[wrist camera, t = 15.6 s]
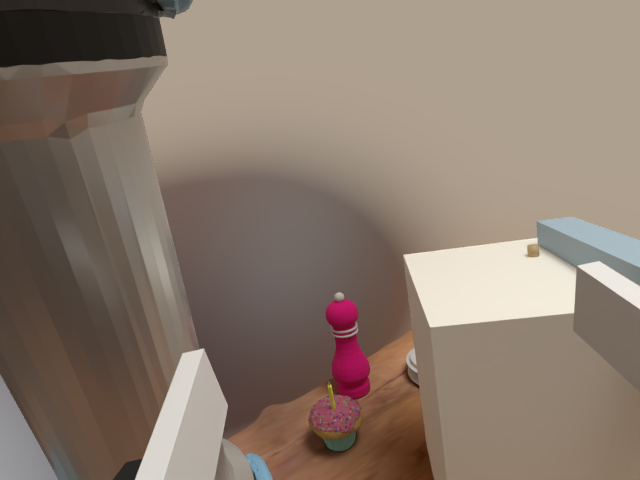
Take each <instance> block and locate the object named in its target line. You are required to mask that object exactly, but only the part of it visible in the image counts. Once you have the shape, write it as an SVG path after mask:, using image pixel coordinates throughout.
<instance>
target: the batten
mask: <svg viewBox="0 0 640 480" xmlns="http://www.w3.org/2000/svg"><path fill="white" fill-rule="evenodd" d="M537 239H538V245H539V246H540V247H542V248H544V249H545V250H547V251H549V252H551V253H552V254H554V255H556V256H557V257H559V258H561V259H563V260H564V261H566V262H568V263H570V264H571V265H573V266H575V267H576V268H577V266H578V265H583V264H587V263H592V262H596V261H600V262H602V263H603V264H605V265H606V266H608V267H610V268H611V269H613V270H614V271H616V272H618V273H619V274H621V275H622V276H624V277H626V278H627V279H629V280H630V281H632V282H634V283H635V284H637V285H638V286H640V240H637V239H634V238H632V237H628V236H626V235H623V234H620V233H617V232H615V231H611V230H609V229H606V228H603V227H600V226H597V225H594V224H592V223H589V222H586V221H583V220H580V219H577V218H575V217H565V218H558V219H550V220H542V221H537Z"/></svg>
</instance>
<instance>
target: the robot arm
mask: <svg viewBox="0 0 640 480" xmlns="http://www.w3.org/2000/svg"><path fill="white" fill-rule="evenodd" d="M192 1H193V0H0V375H1V376H2V378H3V380H4V382H5V384H6V386H7V387H8V389H9V391H10V393H11V395H12V396H13V398H14V400H15V402H16V404H17V405H18V407H19V409H20V411H21V413H22V414H23V416H24V418H25V420H26V422H27V424H28V425H29V427H30V429H31V431H32V433H33V434H34V436H35V438H36V440H37V442H38V443H39V445H40V447H41V449H42V451H43V452H44V454H45V456H46V458H47V460H48V461H49V463H50V465H51V467H52V469H53V470H54V472H55V474H56V476H57V478H58V480H273V479H272V476H271V474H270V471H269V469H268V467H267V465H266V463H265V462H264V460H263V459H262V458H261V457H260V456H258V455H256V454H247V455H243V453H242V452H241V451H240V450H239V449H238V448H237V447H236V446H235V445H234V444H232V443H231V442H229V441H227V440H226V439H223V438H222V435H223V430H224V424H225V418H226V414H227V408H228V405H227V403H226V400H225V398H224V396H223V393H222V391H221V388H220V386H219V384H218V381H217V379H216V377H215V374H214V372H213V369H212V367H211V365H210V362H209V360H208V357H207V355H206V353H205V350H204V349H200V350H199V346H198V342H197V338H196V334H195V330H194V325H193V321H192V318H191V313H190V309H189V305H188V301H187V297H186V293H185V289H184V285H183V281H182V276H181V273H180V268H179V264H178V260H177V257H176V252H175V248H174V244H173V240H172V236H171V232H170V228H169V224H168V220H167V216H166V211H165V207H164V204H163V199H162V195H161V191H160V187H159V183H158V179H157V175H156V171H155V167H154V163H153V159H152V154H151V150H150V146H149V143H148V138H147V135H146V130H145V126H144V122H143V118H142V114H141V110H142V107H143V103H144V100H145V98H146V96H147V95H148V94H149V92H150V91H151V89H152V88H153V86H154V85H155V83H156V81H157V80H158V78H159V77H160V75H161V74H162V72H163V71H164V69H165V68H166V66H167V65H168V61H167V54H166V49H165V44H164V39H163V35H162V30H161V25H160V20H159V18H160V17H170V18H172V19H174V17H175V15H176V14H180V13H182V12H185V11H186V10H188V9H189V7H190V5H191V3H192ZM573 331H574V332H575V333H576V334H577V335H578V336H580V337H581V338H582V339H583V340H584V341H585V342H586V343H587V344H588V345H589V346H590V347H591V348H593V349H594V350H595V351H596V352H597V353H598V354H599V355H600V356H601V357H602V358H603V359H604V360H605V361H607V362H608V363H609V364H610V365H611V366H612V367H613V368H614V369H615V370H616V371H617V372H618V373H620V374H621V375H622V376H623V377H624V378H625V379H626V380H627V381H628V382H629V383H630V384H631V385H633V386H634V387H635V388H636V389H637V390H638V391H639V392H640V286H638V285H637V284H635V283H634V282H632V281H630V280H629V279H627V278H626V277H624V276H622V275H621V274H619V273H618V272H616V271H614V270H613V269H611V268H610V267H608V266H606V265H605V264H603V263H602V262H600V261H596V262H592V263H587V264H583V265H578V266H577V270H576V288H575V305H574V323H573Z"/></svg>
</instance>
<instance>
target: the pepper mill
mask: <svg viewBox="0 0 640 480" xmlns="http://www.w3.org/2000/svg"><path fill="white" fill-rule="evenodd" d="M334 298H335V301H333V302H331V303H330V304H329V305H328V307H327V309H326V319H327V321H328V323H329V324H330V325H332V326H331V331H332V332H331V333H332V335H333V336H334V337H335V341H336V351H335V355H334V359H333V362H332V374H333V377H334V378H335V380H336V381H337V388H338V393H339V394H340V395H343V396H348V397H350V398H352V399H357V398H361V397H363V396H365V395H366V394H367V393H368V392H369V390H370V383H369V378H368V375H369V373H370V366H369V362H368V360H367V358H366V356H365V355H364V354H363V352H362V351H361V349H360V347H359V345H358V342H357V336H356V333H357V332H358V328H357V323H356V320H357V319H358V310H357V307H356V305H355V304H354V303H353V302H352V301H350V300H347V299H344V295H343V294H342V293H340V292H338V293H336V294H335V297H334Z"/></svg>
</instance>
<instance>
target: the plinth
mask: <svg viewBox="0 0 640 480" xmlns="http://www.w3.org/2000/svg"><path fill="white" fill-rule="evenodd" d="M404 264H405V273H406V281H407V289H408V298H409V306H410V314H411V322H412V331H413V339H414V347H415V355H416V364H417V372H418V380H419V388H420V397H421V405H422V413H423V421H424V430H425V438H426V445H427V450H428V454H429V459H430V464H431V468H432V473H433V478H434V480H640V392H639V391H638V390H637V389H636V388H635V387H634V386H633V385H631V384H630V383H629V382H628V381H627V380H626V379H625V378H624V377H623V376H622V375H621V374H620V373H618V372H617V371H616V370H615V369H614V368H613V367H612V366H611V365H610V364H609V363H608V362H607V361H605V360H604V359H603V358H602V357H601V356H600V355H599V354H598V353H597V352H596V351H595V350H594V349H593V348H591V347H590V346H589V345H588V344H587V343H586V342H585V341H584V340H583V339H582V338H581V337H580V336H578V335H577V334H576V333H575V332H574V331H573V323H574V305H575V288H576V270H577V268H576V267H575V266H573V265H571V264H570V263H568V262H566V261H564V260H563V259H561V258H559V257H557V256H556V255H554V254H552V253H551V252H549V251H547V250H545V249H544V248H542V247H540V246H539V245H538V239H537V238H534V239H525V240H517V241H509V242H501V243H493V244H486V245H478V246H470V247H462V248H454V249H447V250H438V251H430V252H423V253H415V254H407V255H404Z"/></svg>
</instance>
